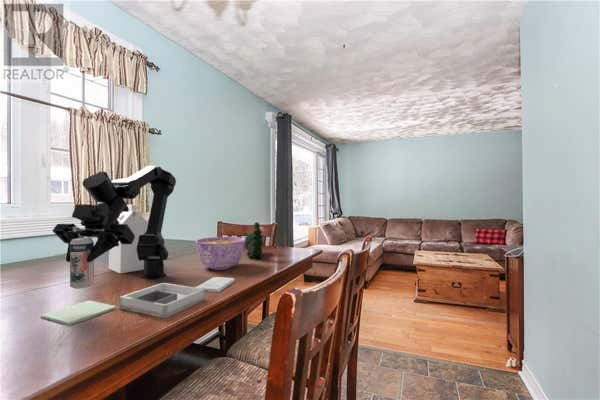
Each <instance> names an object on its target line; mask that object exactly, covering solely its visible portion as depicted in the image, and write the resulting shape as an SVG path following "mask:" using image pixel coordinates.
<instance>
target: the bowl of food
mask: <svg viewBox="0 0 600 400" xmlns="http://www.w3.org/2000/svg"><path fill="white" fill-rule="evenodd" d="M244 244H245V237H244V238H243V237H237V236H212V237H204V238H203V237H202V238H199V239H196V240H195V245H196V250H197V253H198V258H199V261H200V262H201V263H202V264H203V266H205V267H207V268H210V269H211V270H214V271H224V270H229V269H231V268H232V267H234V266H235V265H236V264H238V263H239V262H240V261H241V259H242V255H243V252H244V248H245V245H244Z"/></svg>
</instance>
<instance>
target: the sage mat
mask: <svg viewBox="0 0 600 400" xmlns="http://www.w3.org/2000/svg"><path fill="white" fill-rule="evenodd" d="M113 310H117V306H116V305H112V304H108V303H104V302H98V301H93V300H85V301H83V302H79V303H76V304H73V305H69V306H67V307H63V308H59V309H57V310H53V311H49V312H47V313H43V314H41V315H40V318H41V317H42V318H41V319H44V318H45V320H48V319H49V320H48V321H52V322H55V323H58V324H62V325H66V326H72V325H75V324H77V323H80V322H82V321H86V320H89V319H91V318H94V317H97V316H99V315H103V314H104V313H108V312H111V311H113Z"/></svg>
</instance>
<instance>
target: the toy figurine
mask: <svg viewBox="0 0 600 400" xmlns="http://www.w3.org/2000/svg"><path fill="white" fill-rule="evenodd" d="M253 227H254V230H253V232H252V233H249V234H248V235H246V237H244V239H245V244H244V248H245V249H246V250H247V252H246V255H247V257H248V259H257V258H259V259H262V258H263V245H264V240H263V236H262V233H263V231H262V229H261V228H260V223H259V222H257V221H256V222H254V224H253Z"/></svg>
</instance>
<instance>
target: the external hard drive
mask: <svg viewBox="0 0 600 400" xmlns="http://www.w3.org/2000/svg"><path fill="white" fill-rule="evenodd" d="M235 281H236V279H235V278H234V277H221V276H219V277H218V276H213V277H211V278H210V279H207V280H206V281H205V282H203V283H201V284H200V285H197V286H196V287H194V288H200V289H205V292H208V293H209V292H211V293H219V292H221V291H222V290H224V289H225V288H227V287H229V286H230V285H231V284H233V283H234V282H235Z"/></svg>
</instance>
